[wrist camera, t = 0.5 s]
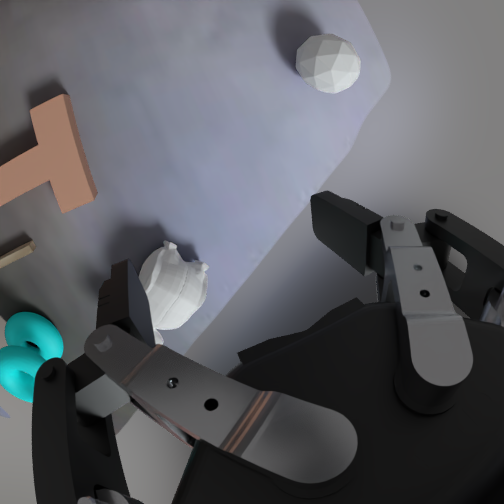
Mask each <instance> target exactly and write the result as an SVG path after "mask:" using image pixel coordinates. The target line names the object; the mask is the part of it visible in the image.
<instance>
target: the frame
mask: <svg viewBox="0 0 504 504" xmlns="http://www.w3.org/2000/svg"><path fill="white" fill-rule="evenodd" d="M35 248H36V246H35V244H34V242H33V240H32V241H30V242H28V243H25V244H23V245H21V246H20V247H18V248H16V249H14V250H12V251H10V252H8V253H6V254H4V255H2V256H0V268H2V267H4V266H6V265H8V264H10V263H12V262H14V261H16V260H18V259H20V258H22V257H24V256H26V255H28V254H30V253H32V252H33V251H34V249H35Z"/></svg>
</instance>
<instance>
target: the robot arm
mask: <svg viewBox="0 0 504 504" xmlns="http://www.w3.org/2000/svg"><path fill="white" fill-rule="evenodd" d="M310 202H311V213H312V224H313V231H314V233H315V235H316V237H317V238H318V239H319V240H320V241H321V242H322V243H324V244H325V245H326V246H327V247H329V248H330V249H331V250H332V251H334V252H335V253H336V254H337V255H339V256H340V257H341V258H342V259H344V260H345V261H346V262H347V263H348V264H350V265H351V266H352V267H353V268H355V269H356V270H357V271H358V272H360V273H361V274H362V275H363V276H367V275H368V274H371V273H373V272H374V271H375V272H376V287H377V299H378V302H375V303H369V304H365V305H364V304H363V303H362V302H361V301H360V300H359V299H358V298H354V299H352V300H350V301H349V302H346V303H345V304H343V305H341V306H339V307H337V308H335V309H333V310H331V311H330V312H328V313H327V314H326V315H325V316H324V317H322V318H321V319H320V320H319V321H318V322H316V323H315V324H314V325H312V326H311V327H310V328H309V329H307V330H305V331H303V332H299V333H294V334H290V335H286V336H281V337H277V338H273V339H269V340H266V341H264V342H262V343H259V344H257V345H255V346H252V347H250V348H248V349H245V350H243V351H240V352H238V356H239V359H240V361H241V363H239V364H238V365H237V366H235V367H234V368H233V369H232V370H231V371H229V373H228V374H227V375H226V376H224V375H222V374H220V373H217V372H215V371H213V370H211V369H209V368H207V367H205V366H203V365H201V364H199V363H197V362H194V361H193V360H191V359H189V358H187V357H184V356H183V355H181V354H179V353H177V352H175V351H173V350H171V349H169V348H167V347H166V346H164V345H161V344H156V343H155V337H154V331H153V325H152V319H151V312H150V306H149V301H148V297H147V295H146V292H145V290H144V288H143V286H142V284H141V281H140V279H139V277H138V275H137V273H136V271H135V269H134V267H133V265H132V263H131V261H130V259H127V260H124V261H121V262H119V263H116V264H114V265H112V269H111V279H109V280H106V281H104V283H103V285H102V286H101V288H100V290H99V298H98V299H99V301H98V309H97V321H96V330H94V331H93V332H92V333H91V334H90V335H89V336H88V338H87V339H86V341H85V345H84V351H85V353H84V354H83V355H81V356H80V357H78V358H77V359H75V360H74V361H72V362H71V363H69V364H68V365H67V364H66V363H65V362H64V361H63V360H62V359H61V358H58V357H54V358H51V359H48V360H47V361H45V362H44V363H43V364H42V365H41V366H40V368H39V369H38V371H37V373H36V376H35V381H34V392H33V407H32V459H33V474H34V485H35V493H36V500H37V504H144V503H142V502H141V501H139V500H137V499H135V498H131V497H130V494H129V490H128V487H127V483H126V480H125V476H124V473H123V469H122V464H121V460H120V456H119V451H118V447H117V442H116V437H115V432H114V426H113V421H112V415H111V413H112V412H114V411H115V410H117V409H118V408H120V407H122V406H123V405H125V404H126V403H128V402H130V403H131V404H132V405H134V406H135V407H136V408H137V409H139V410H140V411H141V412H143V413H144V414H145V415H147V416H148V417H149V418H150V419H152V420H153V421H155V422H156V423H157V424H159V425H160V426H161V427H163V428H164V429H166V430H167V431H168V432H170V433H171V434H172V435H173V436H175V437H176V438H178V439H179V440H180V441H182V442H183V443H185V444H186V445H188V446H189V447H191V448H192V449H193V450H192V452H191V455H190V458H189V460H188V463H187V465H186V468H185V470H184V473H183V476H182V478H181V481H180V483H179V486H178V488H177V491H176V494H175V496H174V498H173V501H172V504H504V246H503V245H502V244H500V243H499V242H497V241H496V240H494V239H493V238H491V237H490V236H488V235H487V234H485V233H483V232H482V231H480V230H479V229H477V228H475V227H474V226H472V225H470V224H469V223H467V222H465V221H463V220H462V219H460V218H459V217H457V216H455V215H453V214H452V213H450V212H447V211H445V210H440V209H432V210H429V211H427V213H426V219H425V222H424V223H418V224H414V223H413V222H412V221H411V220H409V219H408V218H406V217H403V216H395V215H393V216H387V217H384V218H383V217H381V216H380V215H378V214H376V213H374V212H372V211H370V210H369V209H365V207H363V206H361V205H359V204H358V203H356V202H354V201H352V200H349V199H345V198H341V197H339V196H338V195H336V194H334V193H332V192H330V191H324V192H321V193H317V194H314V195H312V196H311V200H310ZM451 247H453V248H454V249H456V250H457V251H459V252H460V253H461V254H463V255H464V256H465V257H466V259H467V269H466V273H464V272H462V271H461V270H460V269H458V268H457V267H456V266H454V265H453V264H451V263H450V262H449V261H448V259H449V254H450V250H451ZM452 302H453V303H454V304H455V305H456V306H457V307H459V308H460V309H461V310H462V311H463V312H465V314H466V315H467V316H469V317H470V318H471V319H469V318H464V317H461V316H460V315H459V314H456V313H455V311H454V308H453V305H452Z"/></svg>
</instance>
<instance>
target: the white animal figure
mask: <svg viewBox="0 0 504 504" xmlns="http://www.w3.org/2000/svg"><path fill="white" fill-rule="evenodd" d="M163 244H164V247H161V248H159V249H157V250H155V251H154V252H153V253H152V254H151V255H149V257H148V258H147V259H146V260H145V262H144V263H143V265H142V269H141V271H140V274H139V279H140V281H141V284H142V286H143V288H144V290H145V292H146V295H147V297H148V301H149V306H150V312H151V319H152V325H153V331H154V337H155V343H156V344H161V345H162V344H163V339H162V336H161V334H160V333H159V332H158V331H157V330H156V329H161V330H172V329H176V328H179V327H180V326H181V325H182V324H183V323H185V322H187V321H188V320H189V318H190V316H191V315H192V314H193V313H194V312H195V311H196V310H197V309H199V307H200V306H201V305H202V304H203V303H204V301H205V298H206V295H207V275H206V274H205V270H207V269H208V268H209V266H208V265H207V264H205V263H204V262H201V261H198V260H194V261H195V262H185V261H183V259H182V258H181V256H180V255H179V253H178V252H177V250H176V248H177V245H175V244H173V243H171V242H168V241H165V240H164V242H163Z"/></svg>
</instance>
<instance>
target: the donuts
mask: <svg viewBox="0 0 504 504" xmlns="http://www.w3.org/2000/svg"><path fill="white" fill-rule="evenodd" d="M5 338H6V341H7V344H8V346H6V347H3V348H1V349H0V384H1V385H2V386H3V387H4V389H6V390H7V391H8V392H9V393H11V394H12V395H14V396H15V397H17V398H19V399H21V400H24V401H27V402H32V403H33V392H34V381H35V376H36V373H37V371H38V369H39V368H40V366H41V365H42V364H43V363H44V362H45V361H47V360H48V359H51V358H54V357H58V358H61V356H62V353H63V341H62V338H61V335H60V333H59V331H58V330H57V328H56V327H55V326H54V325H53V324H52V323H51V322H50V321H49V320H47V319H46V318H44V317H43V316H41V315H38V314H36V313H32V312H19V313H16V314H14V315H13V316H11V317H10V318H9V320H8V321H7V323H6V326H5ZM26 341H30V342H33V343H35V344H36V345H37V346H38V347H39V348H37V347H33V346H31V345H29V344H28V343H27V342H26ZM23 371H24V372H23ZM25 372H26V373H25Z"/></svg>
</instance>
